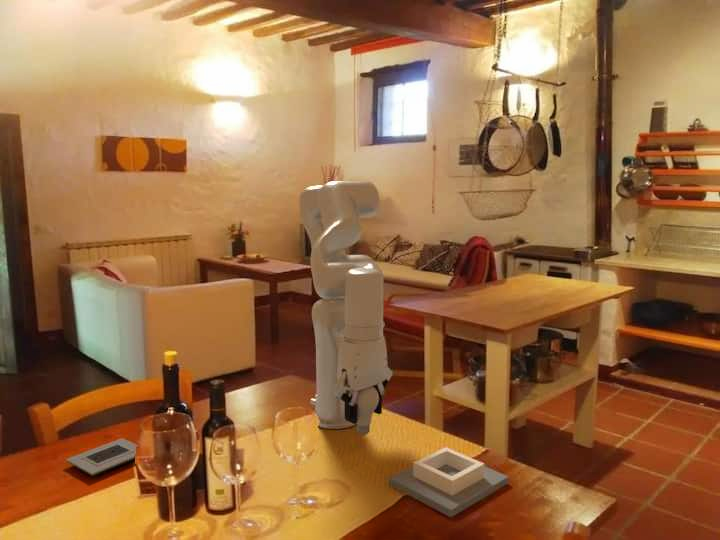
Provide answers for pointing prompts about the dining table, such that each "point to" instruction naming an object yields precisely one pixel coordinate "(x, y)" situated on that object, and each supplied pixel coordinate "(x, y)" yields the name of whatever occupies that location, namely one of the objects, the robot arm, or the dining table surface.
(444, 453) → the lamp base
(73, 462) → the electrical outlet
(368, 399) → the lightbulb
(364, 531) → the dining table surface
